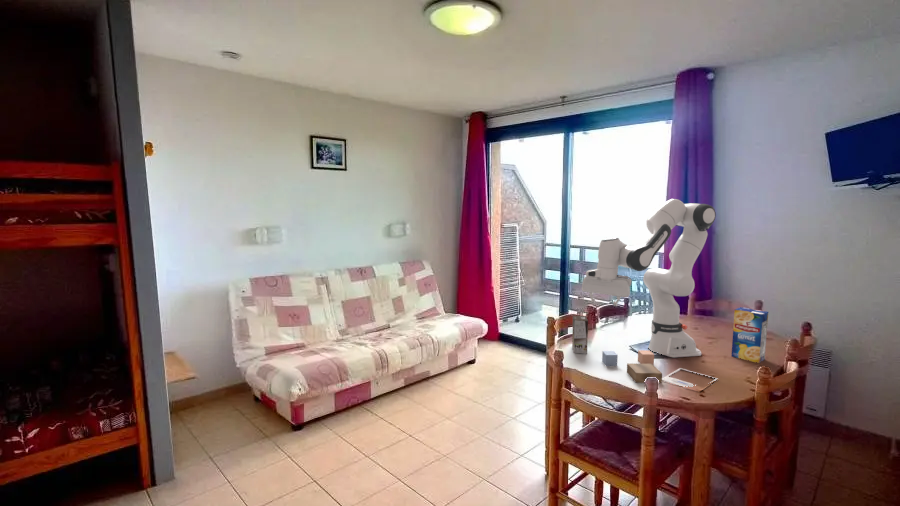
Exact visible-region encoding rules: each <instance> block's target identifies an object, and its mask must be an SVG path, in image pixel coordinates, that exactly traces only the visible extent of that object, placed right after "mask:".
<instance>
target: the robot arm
mask: <svg viewBox="0 0 900 506" xmlns="http://www.w3.org/2000/svg"><path fill="white" fill-rule="evenodd" d="M716 217H717V214H716V210H715V208H714V207H713V206H712V205H710V204H706V203H695V202H693V203H692V202H690V203H684V202H683V201H681V200H680V199H678V198H677V199H676V198H671V199H669V200H667V201H665V202H664V203H662V204H661V205H659V207H657V208H655V210H653V211H652V213H651V214H650V215H649V216H648V217H647V220H646V228H647V229H648V231H649V233H650V234H651V236H650V237H649V238H648V240H647V241H646V242H645V243H644V244H643V245H641V246H631V245H628V244H626V243H624V242H622V241H621V240H620V238H619V237H613V236H612V237H604V238H602V239H601V241H600V243H599V246H598V251H597V252H598V253H597V259H598V260H597V261H598V262H597V265H596V268H593V269H589V270H586V272H585V277H584V278H583V279H582V284H581V290H582V292H584V293H588V294H589V298H590V299H591V300H590V301H591V302H590V303H592V304H595V303H596V298H594V296H593V295H594V294H598V295H604V296H612V297H613V296H615V297H616V299H617V300H616V301H613V307H618V302H619V301H620V300H621V298H629V296H630V294H631V293H630V292H631V285H632V282H633V281H632V278H631V277H630V276H628V275H622V274H618V272H619V266H620V267H624V268H626V269H627V268H628V269H631V270H634V271H637V272H643V271H645V273H644V274H643V277H642V279H643V284H644V286H646V287H647V290H648V291H649V294H650V296H651V299H652V307H653V311H652V314H653V315H652V320H651V327H650V328H651V337H650V341H649V344H648V347H647V349H648V348H649V349H650V350H651V352H652V351H653V352H652V353H654V352H658V353H660V354H659V355H661V354H662V356H667V357H669V358H684V357H687V358H688V357H698V356H699V357H700V356H702V351H701V349H699V348H697V345H696V341H695V339H694V338H693V337H691V336H690V335H689V334H688V333H686V332H685V331H686V330H687V329H688V325H686V324H685V323H684V324H683V323H681V322H680V305H679V304H678V302H677V301H676V300H675V298H674V296H675V297H687V296H690V295H691V294H692V293H693V292H694V289H695V287H696V286H695V285H696V284H695V280H694V278H693V275H692V274H693V272H692V271H693V267H694V264H695V263H696V261H697V259H698V257H699V255H700V254H701V252H702V250H703V248H704V247H705V244H706V241H707V238H708V236H709V234H708V230H709V229H710V228H711V226H712V225H713V224H714V222H715V220H716ZM676 226H678V227H682V228H683V230H682V233H681V235H680V236H679V237H678V239H677V241H676V242H675V244H674V246H672V249H671V251H670V252H669V255H668V257H669V260H670V262H671V266H670V268H669V269H665V268H660V267H656V268H655V267H654V268H649V267H650V265H651V264H652V262H653V259H654V258H655V256H656V255H657V253H658V252H659V251H660V250H661V248H662V247H663V246H664V245H665V244H666V242H667V241H668V240H669V238H670V237H671V234H672V229H674V228H675V227H676ZM648 268H649V269H648ZM647 269H648V270H647ZM684 330H685V331H684ZM649 349H648V350H649Z"/></svg>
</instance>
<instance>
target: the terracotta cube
mask: <svg viewBox="0 0 900 506" xmlns="http://www.w3.org/2000/svg"><path fill="white" fill-rule="evenodd" d="M637 362H638V364H653V365H654V366H655V353H654V352H652V351H650V350H649V349H647V350H645V349H644V350H643V349H641V350H640V349H639V350H637Z"/></svg>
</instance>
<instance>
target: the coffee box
mask: <svg viewBox="0 0 900 506" xmlns="http://www.w3.org/2000/svg"><path fill="white" fill-rule="evenodd" d="M588 329H589V320H588V317H587V316H586V315H572V339H571V340H572V346H571V347H572V351H573V354H585V355H586V354H588V339H589V338H588V336H589V330H588Z"/></svg>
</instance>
